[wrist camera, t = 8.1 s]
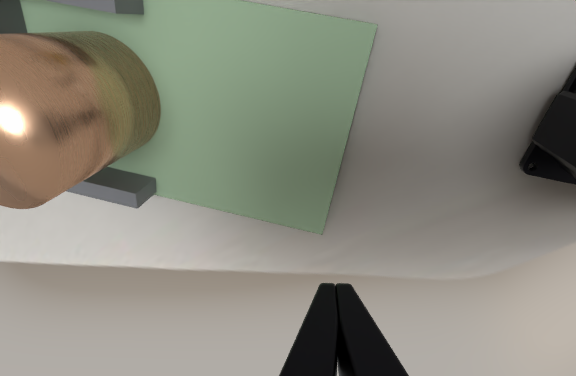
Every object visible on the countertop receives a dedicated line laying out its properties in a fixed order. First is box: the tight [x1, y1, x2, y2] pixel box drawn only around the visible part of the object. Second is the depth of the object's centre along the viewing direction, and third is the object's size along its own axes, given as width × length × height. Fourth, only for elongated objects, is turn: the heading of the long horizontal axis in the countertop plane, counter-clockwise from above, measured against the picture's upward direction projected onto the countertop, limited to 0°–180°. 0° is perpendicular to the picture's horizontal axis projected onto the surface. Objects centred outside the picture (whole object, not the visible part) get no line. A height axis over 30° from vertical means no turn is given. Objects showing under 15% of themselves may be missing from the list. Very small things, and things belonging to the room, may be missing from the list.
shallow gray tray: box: [0, 0, 157, 208], centre depth 19 cm, size 9×13×2 cm
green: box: [20, 0, 378, 235], centre depth 20 cm, size 22×14×1 cm, turn 81°
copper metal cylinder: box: [0, 31, 161, 209], centre depth 17 cm, size 8×8×8 cm
